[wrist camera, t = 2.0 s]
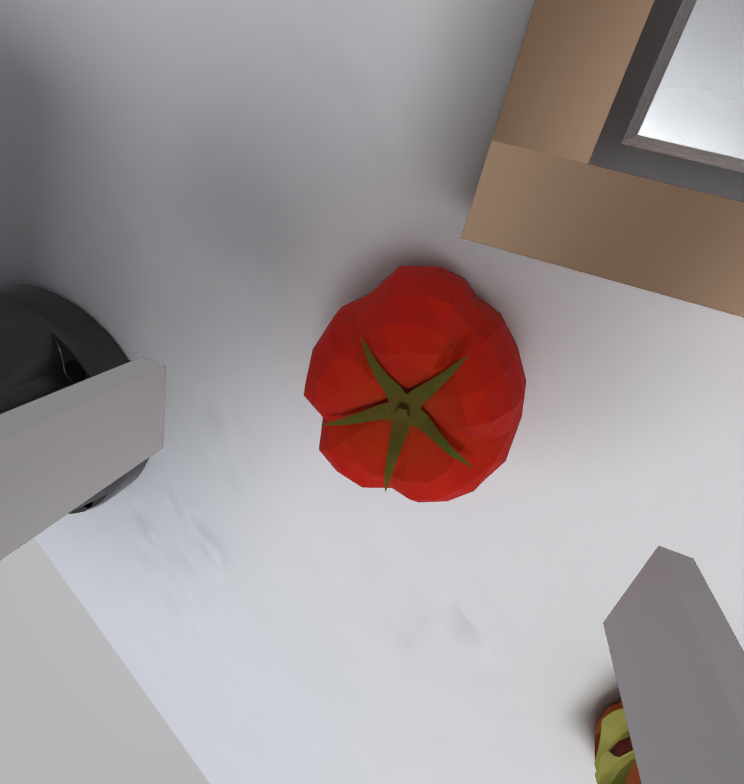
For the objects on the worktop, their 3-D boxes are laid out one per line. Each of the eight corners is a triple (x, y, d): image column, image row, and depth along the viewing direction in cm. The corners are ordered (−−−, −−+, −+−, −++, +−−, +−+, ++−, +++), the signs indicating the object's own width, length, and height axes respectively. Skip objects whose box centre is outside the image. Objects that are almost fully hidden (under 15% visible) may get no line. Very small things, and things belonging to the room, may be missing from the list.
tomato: (497, 456, 23) (496, 559, 16) (335, 417, 24) (273, 496, 18) (549, 273, 19) (576, 308, 12) (353, 241, 20) (282, 258, 14)
